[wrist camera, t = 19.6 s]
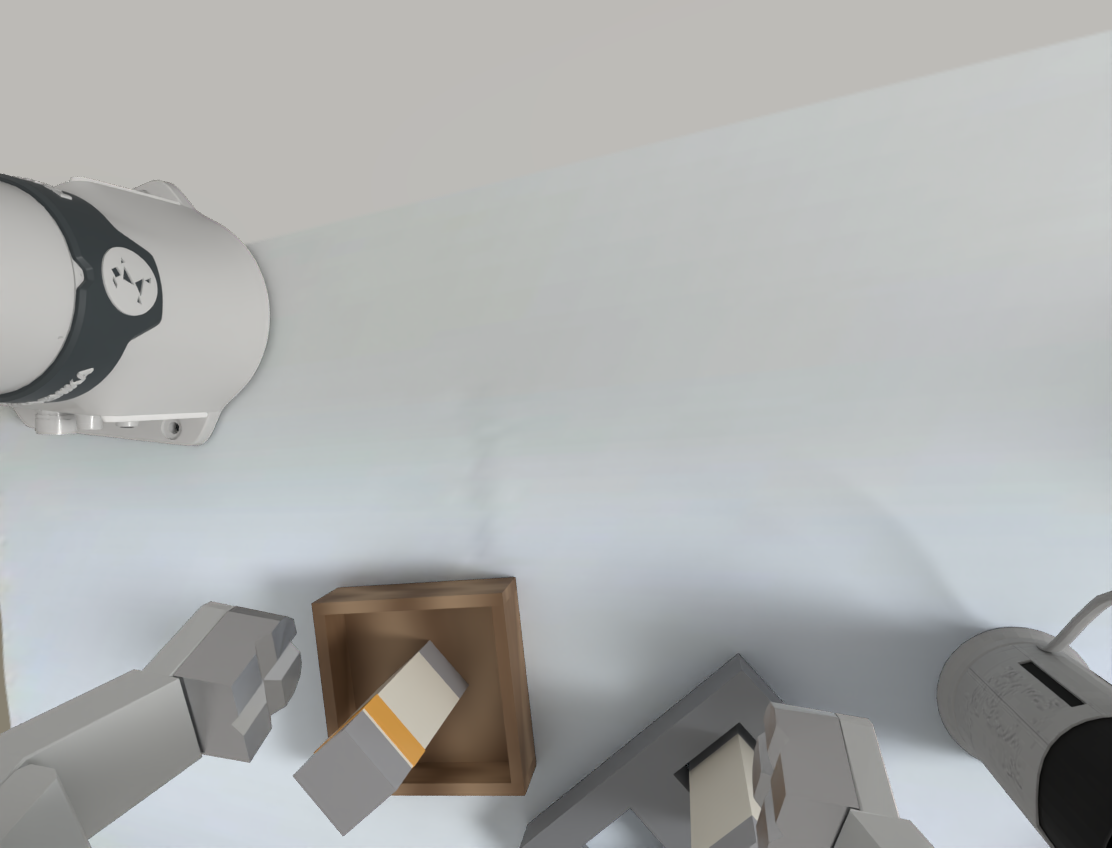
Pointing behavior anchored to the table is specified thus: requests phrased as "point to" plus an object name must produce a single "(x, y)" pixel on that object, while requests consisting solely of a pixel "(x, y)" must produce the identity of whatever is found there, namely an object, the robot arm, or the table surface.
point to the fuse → (724, 793)
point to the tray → (469, 646)
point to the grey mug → (1037, 725)
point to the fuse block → (657, 765)
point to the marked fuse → (382, 739)
